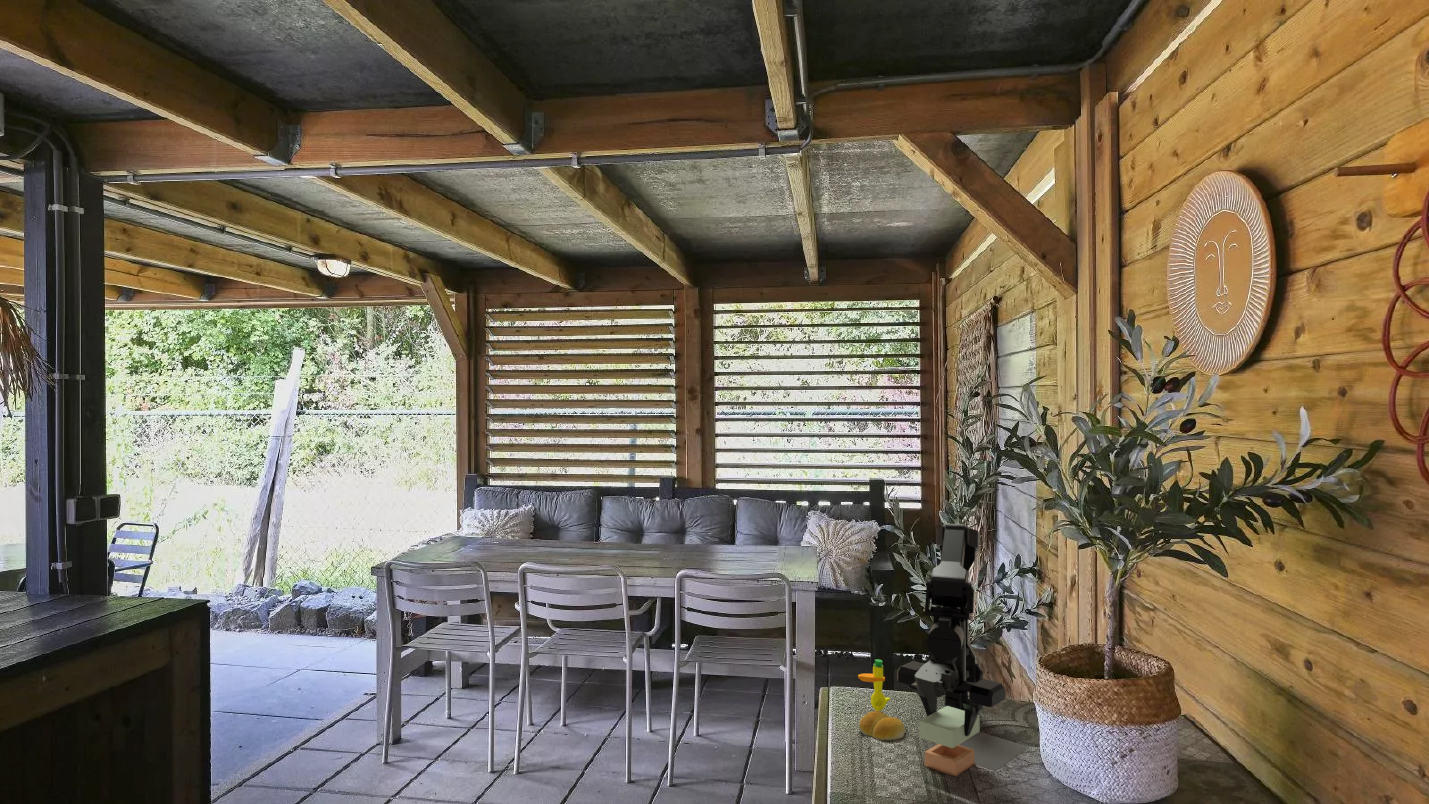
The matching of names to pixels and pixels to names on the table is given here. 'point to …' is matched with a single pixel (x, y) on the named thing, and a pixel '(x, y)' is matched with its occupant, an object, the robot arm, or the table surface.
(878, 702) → the toy figure
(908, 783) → the table surface
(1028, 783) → the table surface
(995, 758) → the mat
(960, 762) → the dish
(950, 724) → the lid
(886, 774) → the table surface
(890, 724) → the bread roll
